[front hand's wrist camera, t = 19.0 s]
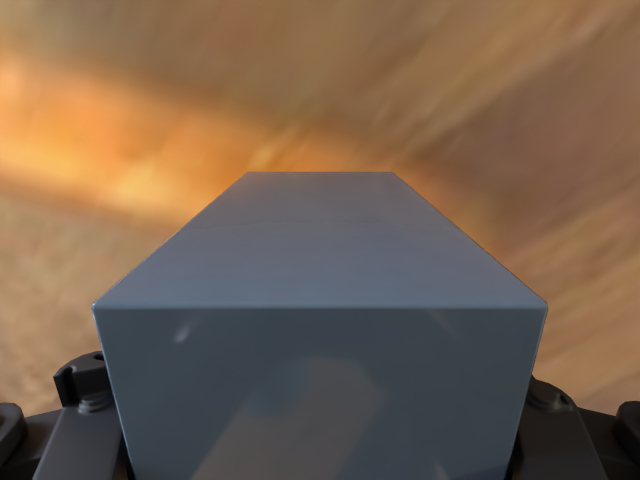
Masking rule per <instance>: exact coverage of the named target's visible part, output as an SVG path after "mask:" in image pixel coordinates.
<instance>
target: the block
mask: <svg viewBox="0 0 640 480" xmlns="http://www.w3.org/2000/svg"><path fill="white" fill-rule="evenodd" d="M91 309H92V313H93V317H94V321H95V325H96V328H97V332H98V336H99V340H100V344H101V348H102V352H103V356H104V360H105V364H106V368H107V372H108V376H109V380H110V384H111V388H112V392H113V396H114V399H115V403H116V407H117V411H118V415H119V419H120V423H121V427H122V431H123V435H124V439H125V443H126V447H127V451H128V455H129V459H130V463H131V467H132V470H133V474H134V478H135V480H505V477H506V474H507V470H508V466H509V462H510V458H511V454H512V450H513V446H514V442H515V438H516V434H517V430H518V426H519V422H520V418H521V414H522V410H523V406H524V402H525V399H526V395H527V391H528V387H529V383H530V379H531V375H532V371H533V367H534V363H535V359H536V355H537V351H538V347H539V343H540V339H541V335H542V331H543V327H544V324H545V320H546V316H547V312H548V304H547V302H546V301H544V300H543V299H542V298H541V297H540V296H538V295H537V294H536V293H535V292H534V291H533V290H531V289H530V288H529V287H528V286H527V285H525V284H524V283H523V282H522V281H521V280H520V279H518V278H517V277H516V276H515V275H514V274H513V273H511V272H510V271H509V270H508V269H507V268H505V267H504V266H503V265H502V264H501V263H500V262H498V261H497V260H496V259H495V258H494V257H492V256H491V255H490V254H489V253H488V252H487V251H485V250H484V249H483V248H482V247H481V246H479V245H478V244H477V243H476V242H475V241H474V240H472V239H471V238H470V237H469V236H468V235H466V234H465V233H464V232H463V231H462V230H461V229H459V228H458V227H457V226H456V225H455V224H454V223H452V222H451V221H450V220H449V219H448V218H446V217H445V216H444V215H443V214H442V213H441V212H439V211H438V210H437V209H436V208H435V207H433V206H432V205H431V204H430V203H429V202H428V201H426V200H425V199H424V198H423V197H422V196H420V195H419V194H418V193H417V192H416V191H415V190H413V189H412V188H411V187H410V186H409V185H408V184H406V183H405V182H404V181H403V180H402V179H400V178H399V177H398V176H397V175H396V174H395V173H393V172H246V173H245V174H244V175H243V176H242V177H240V178H239V179H238V180H237V181H236V182H235V183H233V184H232V185H231V186H230V187H229V188H227V189H226V190H225V191H224V192H223V193H222V194H220V195H219V196H218V197H217V198H216V199H215V200H213V201H212V202H211V203H210V204H209V205H207V206H206V207H205V208H204V209H203V210H202V211H200V212H199V213H198V214H197V215H196V216H195V217H193V218H192V219H191V220H190V221H189V222H187V223H186V224H185V225H184V226H183V227H182V228H180V229H179V230H178V231H177V232H176V233H174V234H173V235H172V236H171V237H170V238H169V239H167V240H166V241H165V242H164V243H163V244H162V245H160V246H159V247H158V248H157V249H156V250H154V251H153V252H152V253H151V254H150V255H149V256H147V257H146V258H145V259H144V260H143V261H142V262H140V263H139V264H138V265H137V266H136V267H134V268H133V269H132V270H131V271H130V272H129V273H127V274H126V275H125V276H124V277H123V278H121V279H120V280H119V281H118V282H117V283H116V284H114V285H113V286H112V287H111V288H110V289H109V290H107V291H106V292H105V293H104V294H103V295H101V296H100V297H99V298H98V299H97V300H96V301H94V302H93V304H92V308H91Z"/></svg>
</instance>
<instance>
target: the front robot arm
mask: <svg viewBox="0 0 640 480" xmlns="http://www.w3.org/2000/svg"><path fill="white" fill-rule="evenodd" d="M53 378H54V381H55V384H56V387H57V390H58V394H59V397H60V400H61V403H62V406H63V408H62V409H59V410H56V411H52V412H47V413H43V414H39V415H34V416H30V417H26V418H24V415H23V413H22V410H21V408H20V407H19V406H18V405H16V404H15V403H0V480H135V478H134V474H133V470H132V467H131V463H130V459H129V455H128V451H127V447H126V443H125V439H124V435H123V431H122V427H121V423H120V419H119V415H118V411H117V407H116V403H115V399H114V396H113V392H112V388H111V384H110V380H109V376H108V372H107V368H106V364H105V360H104V356H103V352H102V351H96V352H92V353H89V354H85V355H82V356H80V357H78V358H76V359H74V360H71V361H70V362H68V363H67V364H66V365H64V366H63V367H61V368H60V369H59V370H58V371H57V373H56V374H55V375H54V376H53ZM505 480H640V402H639V401H629V402H624V403H623V404H622V405H620V406H619V409H618V412H617V414H616V416H612V415H608V414H604V413H599V412H595V411H591V410H586V409H582V408H579V407H577V406H576V404H575V403H574V402H573V400H572V399H571V398H570V397H569V396H568V395H567V394H566V393H564V392H563V391H562V390H560V389H558V388H557V387H555V386H553V385H551V384H549V383H546V382H543V381H539V380H536V379H535V378H534V376H533V375H531V379H530V383H529V387H528V391H527V395H526V399H525V402H524V406H523V410H522V414H521V418H520V422H519V426H518V430H517V434H516V438H515V442H514V446H513V450H512V454H511V458H510V462H509V466H508V470H507V474H506V477H505Z"/></svg>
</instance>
